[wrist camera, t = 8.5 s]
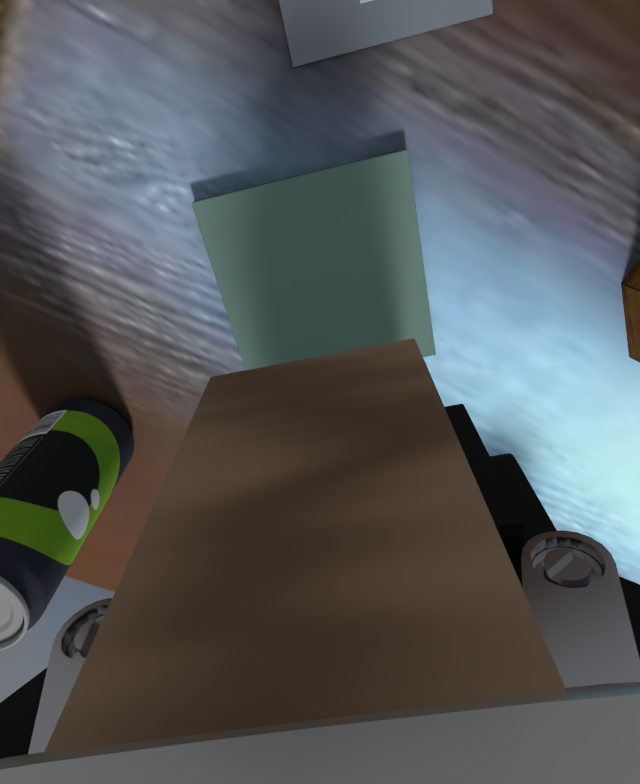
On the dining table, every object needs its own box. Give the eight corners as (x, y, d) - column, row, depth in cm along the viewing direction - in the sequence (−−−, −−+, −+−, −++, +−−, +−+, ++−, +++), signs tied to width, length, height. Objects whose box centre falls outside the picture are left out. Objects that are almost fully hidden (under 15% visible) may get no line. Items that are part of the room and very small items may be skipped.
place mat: (405, 149, 28) (407, 150, 27) (433, 349, 34) (435, 354, 33) (194, 201, 29) (191, 203, 29) (253, 386, 35) (252, 392, 34)
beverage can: (46, 459, 37) (-106, 645, 24) (47, 384, 35) (-123, 546, 21) (133, 477, 38) (32, 666, 25) (141, 404, 35) (33, 574, 22)
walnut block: (414, 337, 12) (588, 741, 4) (437, 503, 14) (578, 972, 6) (210, 377, 13) (20, 804, 5) (262, 530, 15) (194, 998, 7)
